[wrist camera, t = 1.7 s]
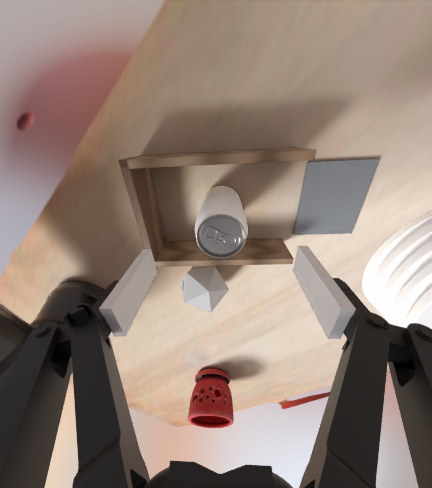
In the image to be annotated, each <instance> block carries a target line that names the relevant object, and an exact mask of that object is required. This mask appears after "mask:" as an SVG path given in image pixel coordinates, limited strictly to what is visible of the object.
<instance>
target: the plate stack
mask: <svg viewBox="0 0 432 488" xmlns="http://www.w3.org/2000/svg"><path fill="white" fill-rule="evenodd" d="M362 287H363V291H364V294H365V296H366V298H367V299H368V300H369V301H370V302H371V303H372V304H373V305H374V306H375V308H376V309H377V310H378V311H379V312H380V313H381V314H382V315H383V316H384V317H385V319H386V320H387V321H388V322H389V323H390V324H392V325H396V326H400V327H404V328H407V326H408V325H409V324H410V323H418V324H422V325H424V326H427V327H429V328H431V329H432V210H431V211H429V212H427V213H425V214H423V215H422V216H420V217H418V218H416V219H415V220H413V221H411V222H410V223H408V224H407V225H405V226H404V227H402V228H401V229H400V230H398V231H397V232H396V233H395V234H393V235H392V236H391V237H390V238H389V239H388V240H387V241H386V242H385V243H384V244H383V245H382V246H381V247H380V248H379V249H378V250H377V251H376V253H375V254H374V255H373V257H372V258H371V260H370V261H369V263H368V265H367V267H366V269H365V272H364V275H363V280H362Z"/></svg>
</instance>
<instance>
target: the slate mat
mask: <svg viewBox="0 0 432 488" xmlns="http://www.w3.org/2000/svg"><path fill="white" fill-rule="evenodd" d="M378 162H379V159H361V160H340V161H319V162H307V165H306V171H305V176H304V181H303V186H302V191H301V196H300V202H299V207H298V212H297V217H296V222H295V227H294V233H293V234H294V235H306V234H342V233H352V231H353V228H354V225H355V223H356V220H357V217H358V215H359V212H360V209H361V207H362V204H363V202H364V199H365V196H366V194H367V191H368V188H369V186H370V183H371V180H372V178H373V175H374V173H375V170H376V167H377V165H378Z"/></svg>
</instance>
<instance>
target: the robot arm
mask: <svg viewBox="0 0 432 488" xmlns="http://www.w3.org/2000/svg"><path fill="white" fill-rule="evenodd" d="M293 272H294V274H295V276H296V278H297V280H298V282H299V284H300V286H301V288H302V290H303V292H304V293H305V295H306V297H307V299H308V301H309V303H310V305H311V307H312V309H313V311H314V313H315V315H316V317H317V319H318V321H319V323H320V324H321V326H322V328H323V330H324V332H325V334H326V336H327V338H328V339H341V337H342V335H343V333H344V334H345V336H346V337H347V340H346V342H345V344H344V346H343V348H342V349H343V352H342V356H341V359H340V362H339V366H338V369H337V372H336V375H335V379H334V382H333V385H332V389H331V392H330V395H329V398H328V402H327V405H326V408H325V412H324V415H323V418H322V421H321V425H320V428H319V432H318V435H317V438H316V441H315V444H314V448H313V451H312V454H311V458H310V461H309V463H308V466H307V468H306V470H305V473H304V475H303V478H302V481H301V484H300V487H299V488H376V473H377V463H378V452H379V442H380V433H381V423H382V412H383V403H384V393H385V383H386V372H387V362H388V364H389V369H390V373H391V377H392V380H393V385H394V389H395V393H396V397H397V401H398V405H399V409H400V413H401V417H402V421H403V426H404V430H405V433H406V438H407V441H408V446H409V450H410V454H411V458H412V462H413V466H414V470H415V474H416V478H417V482H418V486H419V488H432V329H431V328H429V327H427V326H424V325H422V324H418V323H410V324H409V325H408V326H407V328H404V327H400V326H396V325H392V324H389V323H388V322H387V321H386V320H385V319H383V318H382V317H380V316H379V315H377V314H374V313H371V312H370V311H369V310H368V309H367V308H366V307H365V305H364V304H363V303H362V302H361V301H360V299H359V298H358V297H357V296H356V295H355V294H354V292H353V291H352V290H351V289H350V288H349V286H348V285H347V284H346V283H345V282H343V281H342V280H340V279H339V278H332V277H331V276H330V275H329V273H328V272H327V271H326V269H325V268H324V267H323V266H322V264H321V263H320V262H319V260H318V259H317V258H316V256H315V255H314V254H313V253H312V251H311V250H310V249H309V247H308V246H298V250H297V254H296V259H295V263H294V268H293ZM156 274H157V269H156V265H155V262H154V258H153V254H152V251H151V249H143V250H142V251H141V252H140V254H139V255H138V256H137V258H136V259H135V260H134V262H133V263H132V264H131V266H130V267H129V269H128V270H127V271H126V273H125V274H124V275H123V277H122V278H121V279H120V281H114V282H113V283H111V284H110V285H109V286H108V287H107V289H106V290H105V291H104V290H103V289H101V288H99V287H97V286H95V285H92V284H89V283H85V282H80V281H69V282H65V283H62V284H60V285H59V286H58V287H57V288H55V289H54V290H53V291H52V292H51V293H50V294H49V296H48V298H47V300H46V303H45V304H44V306H43V307H42V309H41V311H40V312H39V314H38V316H37V317H36V319H35V320H34V321H33V322H32V323H31V324H30V325H29V324H28V323H27V322H25V321H24V320H22V319H21V318H20V317H18V316H17V315H15V314H14V313H13V312H11V311H10V310H9V309H7V308H6V307H5V306H3V305H2V304H1V303H0V488H44V486H45V482H46V478H47V474H48V470H49V465H50V460H51V457H52V452H53V448H54V444H55V440H56V435H57V431H58V426H59V423H60V418H61V414H62V410H63V405H64V401H65V397H66V392H67V388H68V384H69V380H70V376H71V374H72V373H73V383H74V399H75V412H76V413H75V414H76V431H77V446H78V460H79V461H78V462H79V469H78V473H77V474H76V476H75V478H74V481H73V488H293V487H292V486H291V485H290V484H289V483H287V482H286V481H285V480H284V479H283V478H281V477H279V476H278V475H277V474H275V473H273V472H272V467H271V466H259V465H244V466H242V467H239V468H236V469H234V470H231V471H228V472H226V473H223V474H218V473H216V472H214V471H212V470H209V469H207V468H206V467H203V466H201V465H199V464H197V463H195V462H184V461H170V466H169V468H166V469H164V470H163V471H161V472H159V473H158V474H157V475H155V476H154V477H153V478H152V479H151V480H150V478H149V474H148V471H147V468H146V465H145V462H144V460H143V458H142V456H141V453H140V450H139V446H138V442H137V439H136V435H135V431H134V428H133V424H132V420H131V417H130V413H129V409H128V405H127V401H126V397H125V394H124V390H123V386H122V382H121V379H120V375H119V371H118V367H117V364H116V360H115V356H114V352H113V349H112V345H111V341H110V338H109V337H108V336H109V335H110V333H111V331H112V333H113V334H114V336H126V334H127V332H128V330H129V328H130V326H131V324H132V322H133V320H134V318H135V316H136V314H137V312H138V310H139V308H140V306H141V304H142V302H143V300H144V298H145V296H146V294H147V292H148V290H149V288H150V286H151V284H152V282H153V280H154V278H155V276H156Z"/></svg>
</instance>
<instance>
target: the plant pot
mask: <svg viewBox="0 0 432 488" xmlns="http://www.w3.org/2000/svg"><path fill="white" fill-rule="evenodd" d="M195 382H196V383H197V384H196V385H195V388H194V390H193V393H192V397H191V401H190V408H189V416H188V420H189V422H190V423H191V424H193V425H196V426H200V427H206V428H223V427H227V426H229V425H231V424H232V423H233V405H232V396H231V392H230V389H229V386H228V384H229V382H230V379H229V376H228V375H227V374H226V373H225V372H223V371H221V370H218V369H210V368H208V369H206V370H202V371H200V372H199V373H198V374H197V375H196V377H195ZM194 401H195V403H194Z"/></svg>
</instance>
